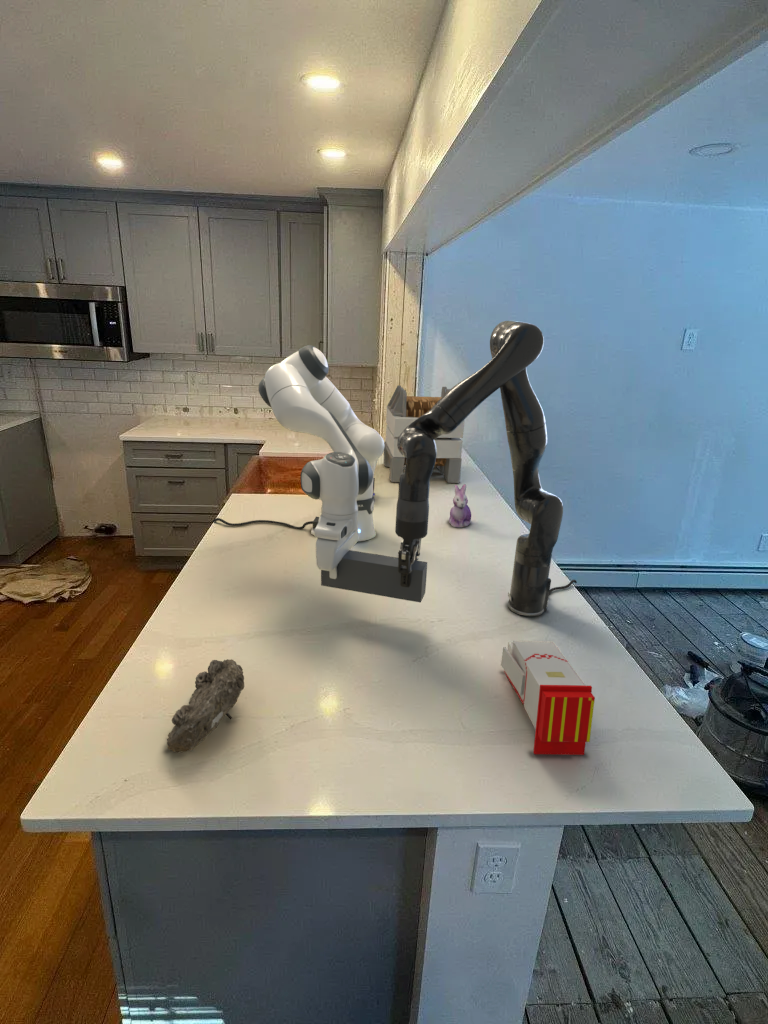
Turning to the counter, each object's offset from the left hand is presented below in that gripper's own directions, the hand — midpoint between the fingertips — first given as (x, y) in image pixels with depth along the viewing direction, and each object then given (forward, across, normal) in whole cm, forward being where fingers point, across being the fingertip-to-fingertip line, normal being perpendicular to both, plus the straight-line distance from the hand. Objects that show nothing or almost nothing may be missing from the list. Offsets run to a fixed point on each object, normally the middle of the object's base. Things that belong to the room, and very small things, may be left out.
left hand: (338, 572), depth 142 cm
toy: (+12, +20, +50) cm, 56 cm away
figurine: (+12, -78, +20) cm, 81 cm away
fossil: (+12, +44, -9) cm, 47 cm away
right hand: (-1, 0, +18) cm, 18 cm away
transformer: (+12, -140, -10) cm, 140 cm away
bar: (+3, 0, +9) cm, 10 cm away
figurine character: (+12, -92, -21) cm, 95 cm away
